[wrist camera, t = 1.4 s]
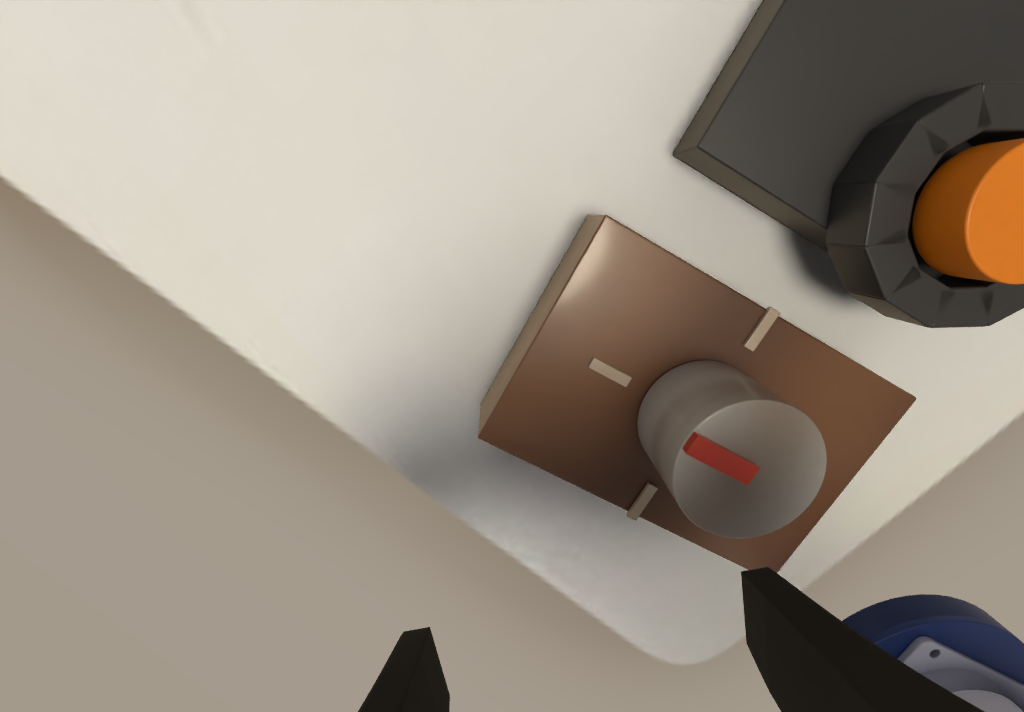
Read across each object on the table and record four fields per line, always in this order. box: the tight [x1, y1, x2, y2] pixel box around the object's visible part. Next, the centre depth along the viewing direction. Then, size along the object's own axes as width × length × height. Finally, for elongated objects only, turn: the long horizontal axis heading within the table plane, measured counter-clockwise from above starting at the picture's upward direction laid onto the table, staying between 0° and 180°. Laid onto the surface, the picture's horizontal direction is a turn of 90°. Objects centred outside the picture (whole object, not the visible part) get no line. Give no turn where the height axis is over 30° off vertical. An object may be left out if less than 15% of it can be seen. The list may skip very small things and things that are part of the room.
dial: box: [637, 360, 827, 539], centre depth 15 cm, size 4×4×4 cm
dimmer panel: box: [478, 215, 916, 573], centre depth 18 cm, size 12×8×3 cm
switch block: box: [673, 0, 1024, 328], centre depth 15 cm, size 11×9×4 cm
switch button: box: [912, 138, 1024, 285], centre depth 13 cm, size 4×4×2 cm
